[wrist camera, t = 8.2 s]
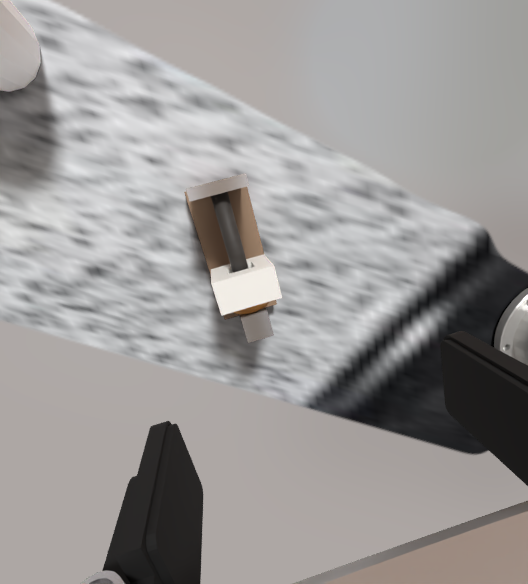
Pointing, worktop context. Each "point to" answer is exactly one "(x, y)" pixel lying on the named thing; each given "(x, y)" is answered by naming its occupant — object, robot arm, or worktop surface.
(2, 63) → the shot glass
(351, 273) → the worktop surface
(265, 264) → the sleeve
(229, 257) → the wooden stand
